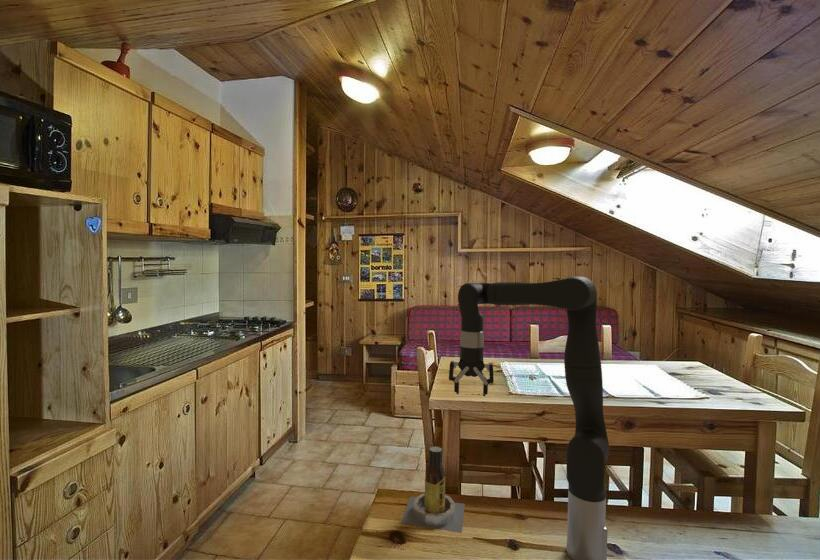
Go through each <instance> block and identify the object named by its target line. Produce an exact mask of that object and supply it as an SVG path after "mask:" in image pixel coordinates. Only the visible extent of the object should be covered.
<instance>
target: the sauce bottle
mask: <svg viewBox="0 0 820 560" xmlns="http://www.w3.org/2000/svg"><path fill="white" fill-rule="evenodd" d="M428 454H429V458H428V459H429V461H428V462H429V464H428V465H427V467H426V469H425V473H424V474H425V477H424V493H425V512H427V513H432V514H440V513H444V509H445V495H446V473H445V470H444V467H443V462H442V455H443V448H441V447H440V446H430V447H429V449H428Z"/></svg>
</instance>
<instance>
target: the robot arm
mask: <svg viewBox="0 0 820 560" xmlns="http://www.w3.org/2000/svg"><path fill="white" fill-rule="evenodd" d="M597 298H598V292H597V288H596V286H595V284H594V282H593V281H592V280H591V279H589V278H587V277H585V276H569V277H566V278H562V279H557V280H551V281H545V282H521V281H520V282H519V281H502V282H501V281H500V282H499V281H498V282H493V283H492V282H491V283H489V282H467V283H464V284H462V285H461V286H460V287H459V290H458V293H457V302H458V307H459V308H458V309H459V313H460V316H461V317H460V318H461V327H460V328H461V329H460V330H461V332H460V340H459V361H454V360H450V362H449V368H448V380H449V381H452V382H453V383H454V384H453V386H454V389H453V390H454V391H453V392H454V393H455V394H456V395H459V393H460V380H461V379H462V378H463V377H464V376H466V377H472V378H476V377H478V378H479V379H480V380H481V382H482V383H483V385H482V386H483V387H482V388H483V389H482V390H483V392H482V393H483V394H482V397H486V396H487V395H488V394H489V393H488V392H489V390H488V389H489V384H490V385H491V384H494V364H493V362H489V363H485V361H484V351H485V349H484V346H485V337H484V315H483V314H482V313H481V312H480V311H479V307H478V306H479V305H493V306H494V305H496V306H528V305H529V306H533V305H535V306H547V307H554V308H559V309H565V310H566V313H567V323H568V329H567V330H568V331H567V336H566V342H565V347H564V355H563V358H564V360H563V361H564V377H565V382H566V387H567V390H568V393H569V396H570V399H571V401H572V403H573V404H572V405H573V408H574V411H575V412H574V413H575V416H574V417H575V431H574V436H573V437H572V438H571V439H570V440H569V442H568V444H567V447H566V448H567V449H566V480H567V483H568V487H567V488H568V493H567V494H568V495H567V497H568V498H567V522H566V523H567V527H566V528H567V531H566V553H567V555H568V556H569V558H570V559H571V560H607V558H608V528H607V526H606V513H607V512H606V510H607V509H606V508H607V506H606V505H607V504H606V503H607V487H606V484H605V464H606V461H607V460H608V458H609V455H610V443H609V437H608V433H607V432H608V431H607V429H606V421H605V417H604V388H603V369H602V360H601V352H600V343H599V336H598V330H597V303H598V302H597V300H598V299H597ZM457 367H458V368H459V369H460V371H459V372H458V374H457V375H456V376H454V369H456V368H457ZM485 369H486V370H487V371H488V372H489V378H486V376H485V374H484V373H483V370H485Z"/></svg>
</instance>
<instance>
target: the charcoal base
mask: <svg viewBox="0 0 820 560" xmlns="http://www.w3.org/2000/svg"><path fill="white" fill-rule="evenodd" d="M416 497H417V496H409V499H408V501H407V505H406V506H405V510H404V512H403V515H402V518H401V521H400V524H402V525H408V526H415V527H422V528H429V529H435V530H442V531H448V532H449V531H450V532H456V533H460V534H461V533H463V528H464V527H463V525H464V515H465V505H466V504H465V503H462V502H461V503H460V502H459V503H458V502H454V503H455V514H454V520H453V521H451V522H450V523H449V524H448V525H444V526H439V527H434V526H427V525H424V524H423V523H421V522H419V521H417V519H416V518H415V516H414V514H413V504H414V501H415V498H416ZM420 509H421V510H423V511H425V505H423V506H422V507H420ZM447 510H448V508H447V507H445V509H444V513H445V512H446V511H447Z"/></svg>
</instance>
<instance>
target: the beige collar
mask: <svg viewBox="0 0 820 560" xmlns="http://www.w3.org/2000/svg"><path fill="white" fill-rule="evenodd" d="M415 497H416V498H415V501H414V504H413V514H414V516H415V518H416V519H417V521H419V522H421V523H423V524H424V525H427V526H434V527H439V526H444V525H448V524H449V523H450V522H451V521H453V520H454V514H455V503H456V502H455V501H454V500H453V499H452V498H451V496H448V495H446V494H445V507H447V508H448V510H447V511H446V512H445V513H440V514H432V513H427V512H425V511H423V510H421V509H420V507H422V506H423V505H425V492H423V493H421V494H419V495H418V496H415Z"/></svg>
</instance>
